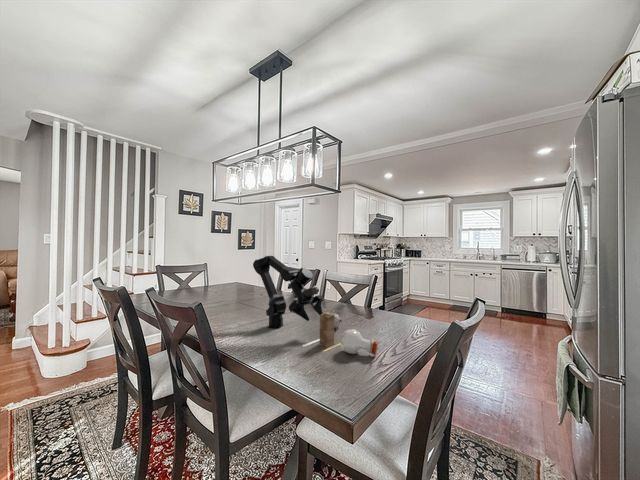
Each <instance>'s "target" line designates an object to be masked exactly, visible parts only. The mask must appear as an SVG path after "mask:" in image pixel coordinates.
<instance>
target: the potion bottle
mask: <svg viewBox="0 0 640 480" xmlns="http://www.w3.org/2000/svg"><path fill="white" fill-rule="evenodd" d="M340 343H341V345H340V346H341V349H342V350H343V352H345V353H347V354H349V355H354V354H357V353H358V352H360V351H363V352H366V353H367V354H368V355H369V356H370V357H371V356H372V355H373V357H376V356H377V352H378V349H379V347H378V346H379V340H377V341H375V338H374V337H373V338H371V339H365V338H363V336H362V334H361V332H359V331H358V330H357V329H355V328H354V329H353V328H352V329H347V330H345V331H344V332H342V334H341V336H340Z"/></svg>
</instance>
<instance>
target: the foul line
mask: <svg viewBox="0 0 640 480" xmlns="http://www.w3.org/2000/svg"><path fill="white" fill-rule="evenodd" d="M318 342H320V338H317V339H315V340H313V341H310V342H308V343H304V344H302V345H301V346H302V347H303V348H305V347H307V346H309V345H313V344H315V343H318Z"/></svg>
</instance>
